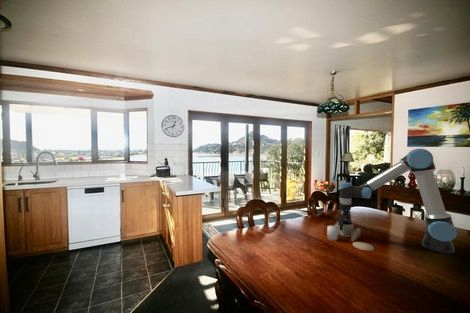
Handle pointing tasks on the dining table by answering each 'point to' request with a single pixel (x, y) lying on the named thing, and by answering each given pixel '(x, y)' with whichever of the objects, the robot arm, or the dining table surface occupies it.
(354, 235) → the cradle
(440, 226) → the robot arm
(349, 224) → the planter
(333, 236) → the white cylinder
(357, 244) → the mat
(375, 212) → the dining table surface
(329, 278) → the dining table surface
